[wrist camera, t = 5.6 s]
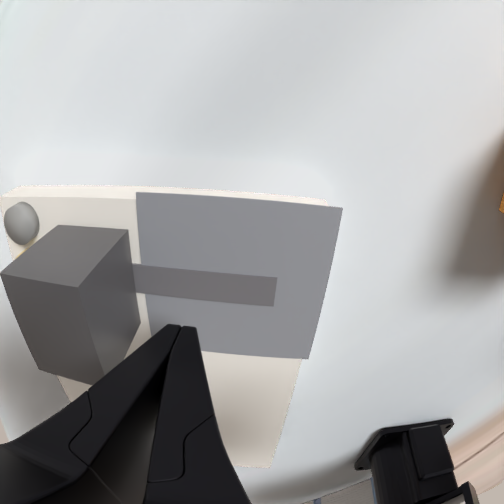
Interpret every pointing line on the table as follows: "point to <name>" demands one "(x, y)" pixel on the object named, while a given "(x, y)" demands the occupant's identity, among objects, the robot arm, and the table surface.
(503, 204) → the cap
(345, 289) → the table surface
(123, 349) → the block
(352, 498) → the warehouse
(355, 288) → the table surface
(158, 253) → the board
